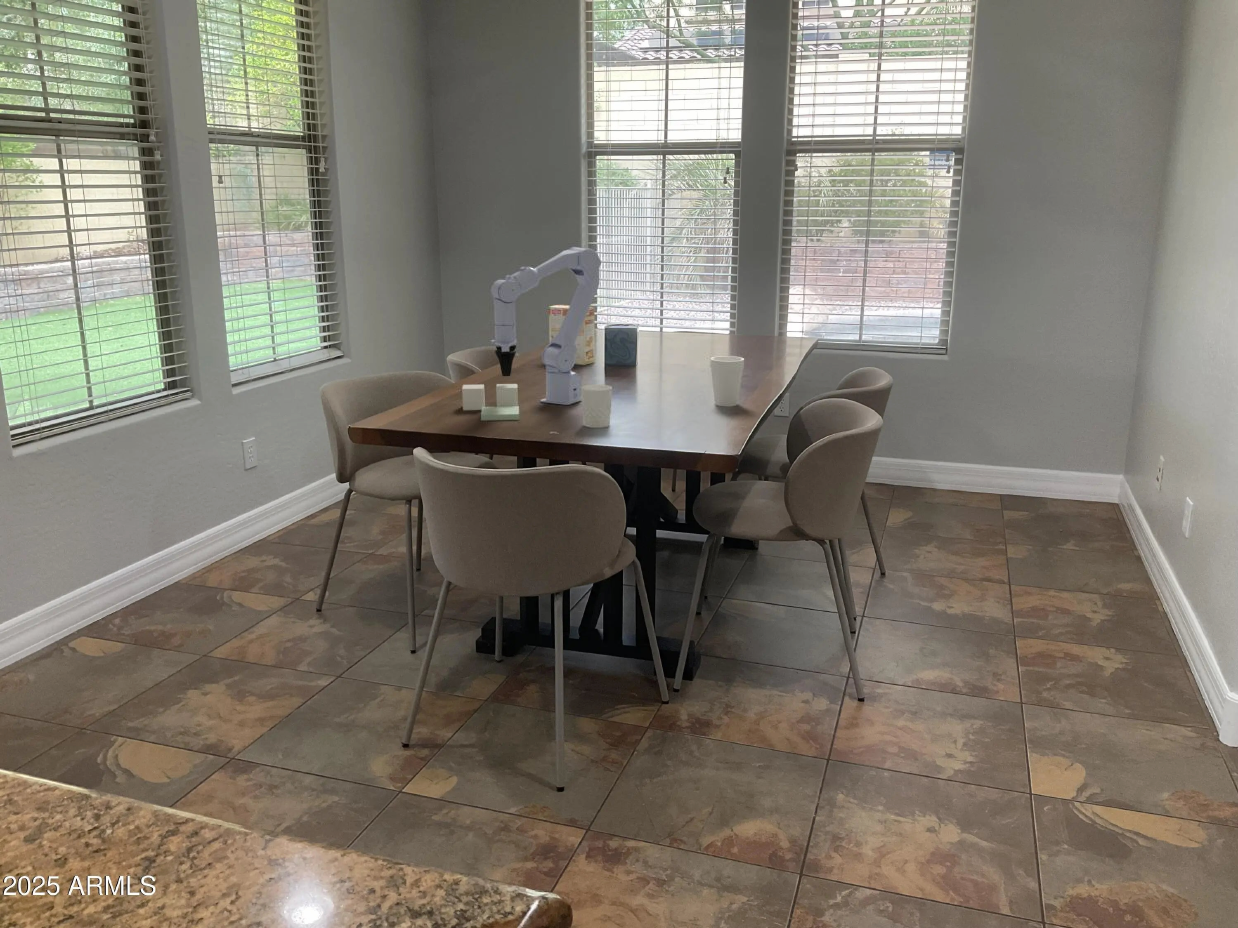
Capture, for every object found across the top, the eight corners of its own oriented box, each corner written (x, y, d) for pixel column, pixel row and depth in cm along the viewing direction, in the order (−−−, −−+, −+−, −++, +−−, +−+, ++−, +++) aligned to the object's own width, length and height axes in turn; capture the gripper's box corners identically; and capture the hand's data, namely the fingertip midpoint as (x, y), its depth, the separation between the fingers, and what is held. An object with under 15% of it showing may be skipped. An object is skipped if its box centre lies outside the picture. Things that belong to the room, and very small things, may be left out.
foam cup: (716, 408, 279) (717, 362, 276) (704, 401, 288) (705, 356, 284) (747, 406, 282) (749, 360, 278) (735, 399, 290) (736, 355, 287)
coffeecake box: (595, 362, 351) (595, 306, 346) (584, 365, 346) (583, 308, 340) (560, 358, 359) (559, 304, 354) (549, 361, 353) (547, 306, 348)
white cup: (595, 420, 265) (594, 383, 262) (618, 424, 260) (618, 387, 257) (575, 425, 259) (574, 387, 256) (598, 430, 254) (598, 391, 251)
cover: (484, 405, 282) (484, 384, 281) (484, 409, 277) (483, 388, 275) (464, 405, 282) (463, 384, 280) (463, 410, 276) (462, 388, 275)
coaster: (518, 411, 275) (518, 406, 274) (519, 419, 265) (518, 414, 265) (482, 412, 274) (482, 406, 273) (481, 420, 264) (480, 414, 264)
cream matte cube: (517, 404, 283) (517, 383, 282) (518, 409, 278) (517, 387, 276) (497, 405, 283) (496, 384, 281) (496, 409, 277) (496, 388, 276)
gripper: (491, 321, 281) (492, 369, 284) (489, 328, 267) (491, 378, 270) (516, 321, 281) (517, 368, 285) (516, 328, 267) (517, 378, 271)
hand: (506, 373), depth 278 cm, fingers open, 7 cm apart
